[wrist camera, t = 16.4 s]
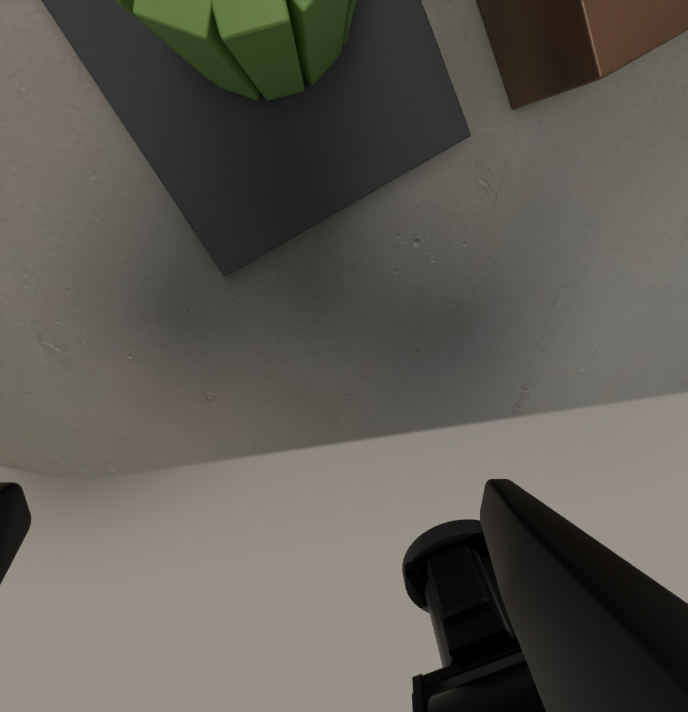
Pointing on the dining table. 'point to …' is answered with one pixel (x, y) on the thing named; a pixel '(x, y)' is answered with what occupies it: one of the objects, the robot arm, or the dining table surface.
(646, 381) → the dining table surface
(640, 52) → the stand
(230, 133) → the mat
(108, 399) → the dining table surface
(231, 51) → the green slatted pot
